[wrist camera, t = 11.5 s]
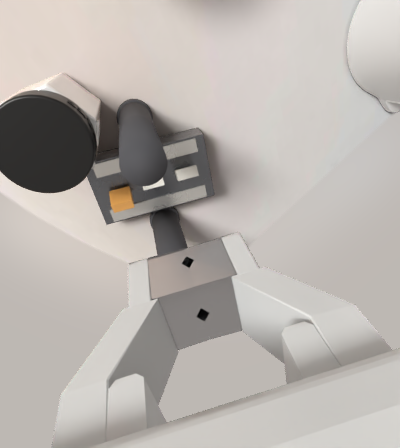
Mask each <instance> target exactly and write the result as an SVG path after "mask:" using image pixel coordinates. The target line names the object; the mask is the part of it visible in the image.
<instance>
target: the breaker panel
mask: <svg viewBox="0 0 400 448" xmlns="http://www.w3.org/2000/svg"><path fill="white" fill-rule="evenodd" d="M159 138H160V141H161V144H162V146H163V149H164V151H165V154H166V157H167V161H168V165H167V170H166V173H165V175H164V176H163V181H164V184H165V185H163V186H159V187H155V188H151V189H148V190H144V189H143V186H138V185H134V184H132V183H130V182H129V181H128V180H126V179H125V177H124V176H123V175H122V173H121V171H120V167H119V148H117V149H113V150H109V151H105V152H101V153H97V155H96V161H95V167H94V168H92V169H91V170H90V172H89V174H88V175H87V178H88V180H89V183H90V185H91V187H92V190H93V192H94V195H95V197H96V200H97V202H98V204H99V207H100V209H101V212H102V214H103V217H104V219H105V222H106V224H111V223H115V222H118V221H122V220H126V219H129V218H133V217H136V216H140V215H144V214H147V213H151V212H155V211H158V210H162V209H165V208H169V207H173V206H176V205H180V204H184V203H187V202H191V201H194V200H198V199H202V198H205V197H209V196H212V195H214V189H213V184H212V179H211V174H210V168H209V163H208V158H207V153H206V147H205V142H204V137H203V133H202V132H201V131H200V130H199V129H198V128H194V129H190V130H186V131H182V132H179V133H175V134H171V135H167V136H163V137H159ZM192 165H196V166H197V170H198V174H199V176H196V177H192V178H188V179H185V180H181V181H178V180H177V178H176V174H175V170H177V169H181V168H185V167H189V166H192ZM127 186H129V187H130V189H131V192H132V196H133V201H134V206H135V207H134V208H131V209H127V210H123V211H120V212H116V213H114V211H113V209H112V207H111V203H110V196H109V191H112V190H116V189H120V188H124V187H127Z"/></svg>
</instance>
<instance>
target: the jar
mask: <svg viewBox="0 0 400 448" xmlns="http://www.w3.org/2000/svg"><path fill="white" fill-rule="evenodd" d="M100 109H101V101H100V100H99V99H98V98H97V97H95V96H94V95H93V94H91V93H90V92H89V91H87V90H86V89H85V88H83V87H82V86H81V85H79V84H78V83H77V82H75V81H74V80H73V79H71V78H70V77H69V76H67V75H66V74H65V73H63V72H61V73H59V74H56V75H54V76H51V77H49V78H47V79H44V80H42V81H39V82H37V83H35V84H32V85H30V86H27V87H25V88H23V89H21V90H20V91H18V92H16V93H15V94H13V95H11V96H10V97H8V98H7V99H5V100H3V101H2V102H0V171H1V172H2V173H3V174H4V175H5V176H6V177H7V178H8V179H10V180H11V181H12V182H14V183H15V184H17V185H19V186H21V187H23V188H26V189H28V190H31V191H35V192H41V193H57V192H62V191H66V190H69V189H71V188H73V187H75V186H76V185H78V184H79V183H80V182H82V181H83V180H84V179H85V178H86V176H87V175H88V174H89V172H90V170H91V169H92V168H94V167H95V161H96V155H97V150H98V145H99V137H100Z"/></svg>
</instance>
